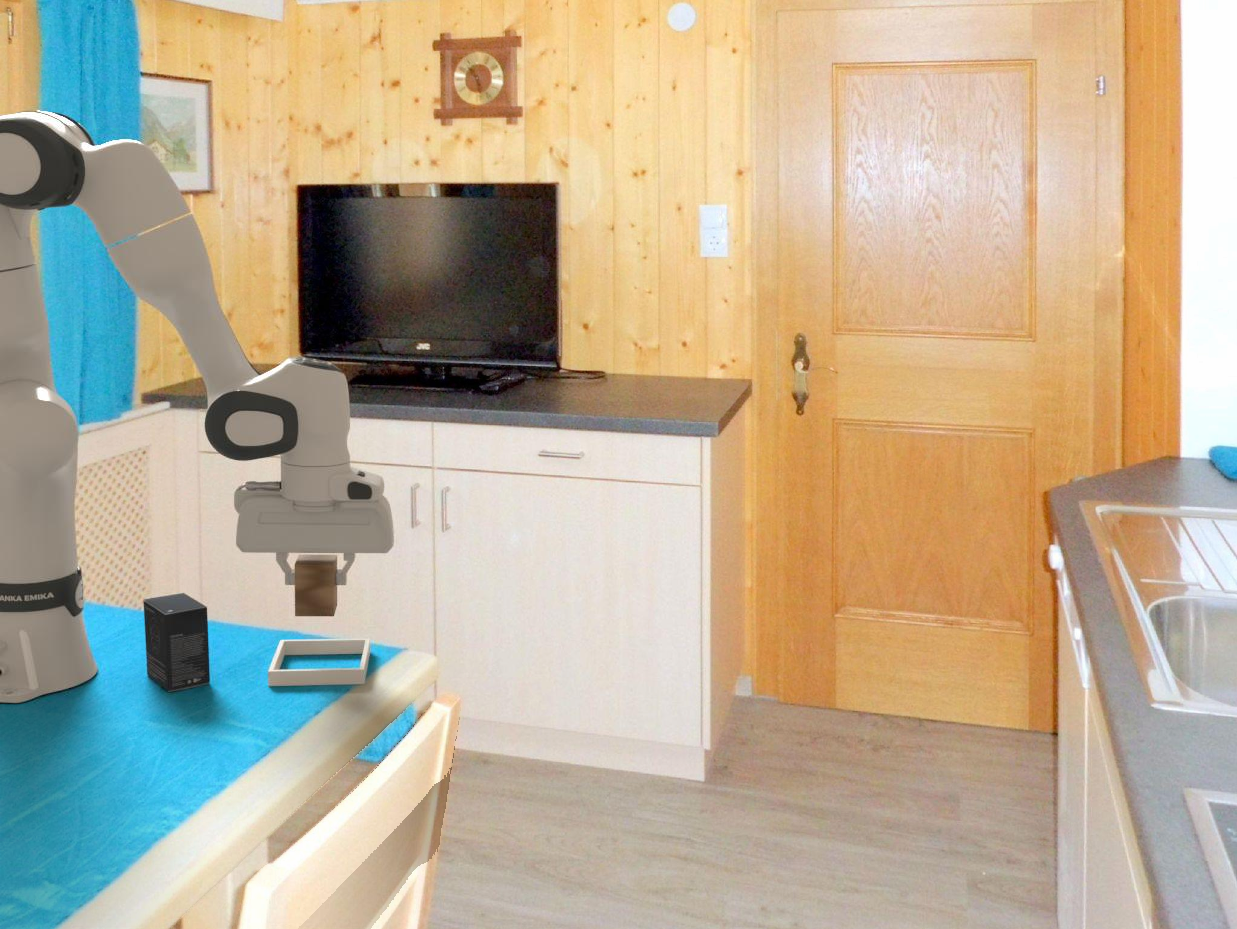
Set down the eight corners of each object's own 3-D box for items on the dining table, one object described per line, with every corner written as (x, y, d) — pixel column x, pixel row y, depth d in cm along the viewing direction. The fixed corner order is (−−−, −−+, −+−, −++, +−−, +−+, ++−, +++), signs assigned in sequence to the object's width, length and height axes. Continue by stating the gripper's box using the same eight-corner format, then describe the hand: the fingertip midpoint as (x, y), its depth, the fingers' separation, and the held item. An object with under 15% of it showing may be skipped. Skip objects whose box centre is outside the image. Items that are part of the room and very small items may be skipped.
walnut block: (295, 616, 175) (294, 564, 173) (299, 604, 180) (298, 554, 178) (333, 616, 175) (333, 564, 174) (337, 604, 180) (337, 554, 179)
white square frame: (268, 686, 173) (267, 671, 172) (280, 653, 184) (280, 639, 184) (364, 684, 174) (364, 669, 174) (370, 652, 186) (370, 638, 185)
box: (211, 684, 173) (208, 606, 171) (168, 693, 170) (164, 614, 167) (188, 666, 179) (184, 591, 177) (145, 675, 175) (141, 598, 173)
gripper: (229, 486, 170) (231, 590, 172) (392, 488, 172) (392, 591, 175) (237, 476, 176) (239, 577, 179) (394, 478, 178) (394, 577, 181)
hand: (316, 584), depth 177 cm, fingers closed on walnut block, 5 cm apart
